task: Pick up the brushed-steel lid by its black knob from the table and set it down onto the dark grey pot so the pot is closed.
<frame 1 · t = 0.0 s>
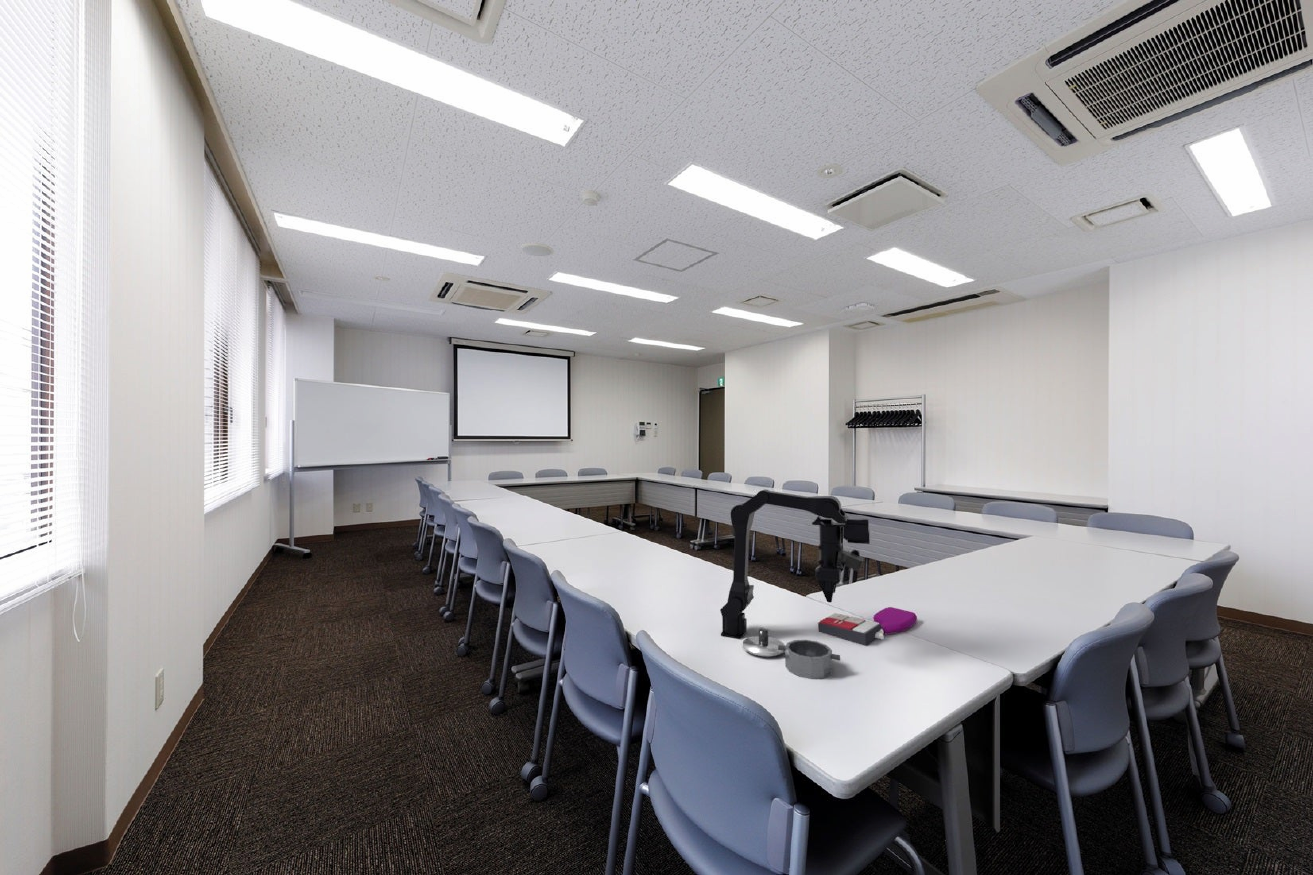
hand: (831, 597, 135), 15 cm above the table, fingers open, 9 cm apart
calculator: (849, 635, 146), on the table, touching purple squeeze pouch
lid: (763, 650, 135), on the table
pot: (808, 668, 124), on the table
purple squeeze pouch: (887, 628, 150), on the table, touching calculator
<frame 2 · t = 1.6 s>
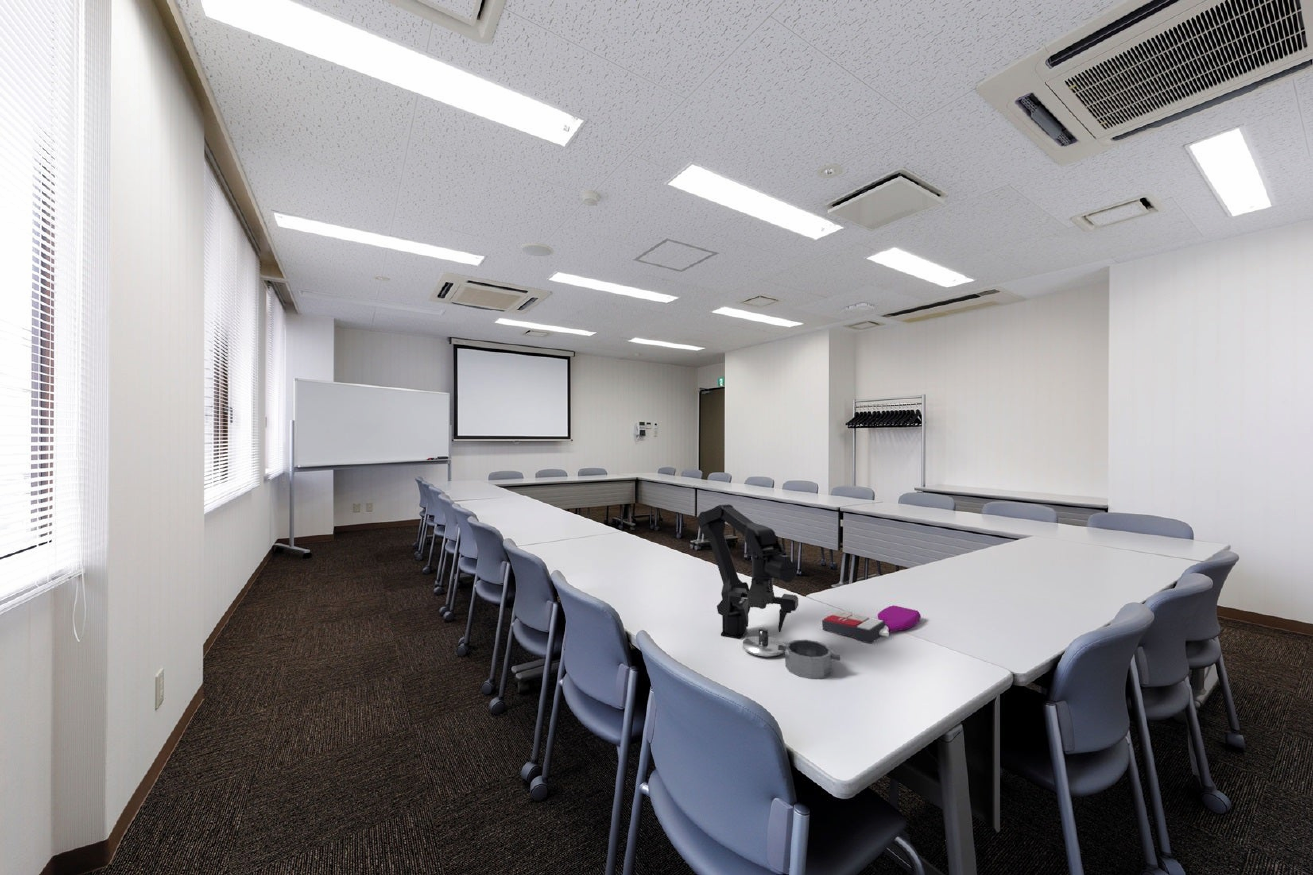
hand: (763, 629, 135), 6 cm above the table, fingers open, 9 cm apart
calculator: (853, 632, 147), on the table, touching purple squeeze pouch
purple squeeze pouch: (891, 626, 151), on the table, touching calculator
everything else where it was.
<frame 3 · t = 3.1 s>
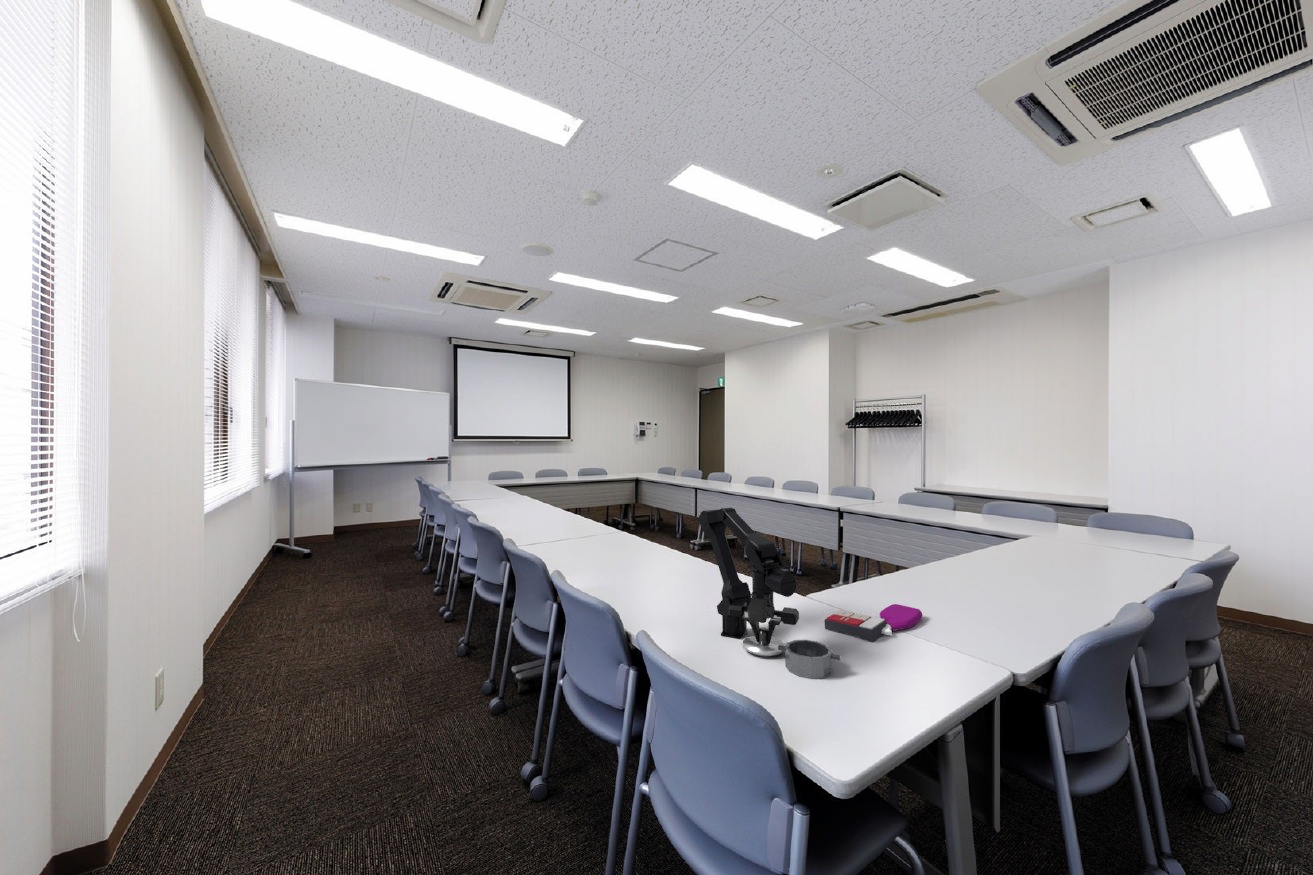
hand: (763, 642, 135), 2 cm above the table, fingers closed on lid, 3 cm apart
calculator: (855, 631, 148), on the table, touching purple squeeze pouch
lid: (763, 650, 135), on the table, touching gripper
purple squeeze pouch: (893, 625, 152), on the table, touching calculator
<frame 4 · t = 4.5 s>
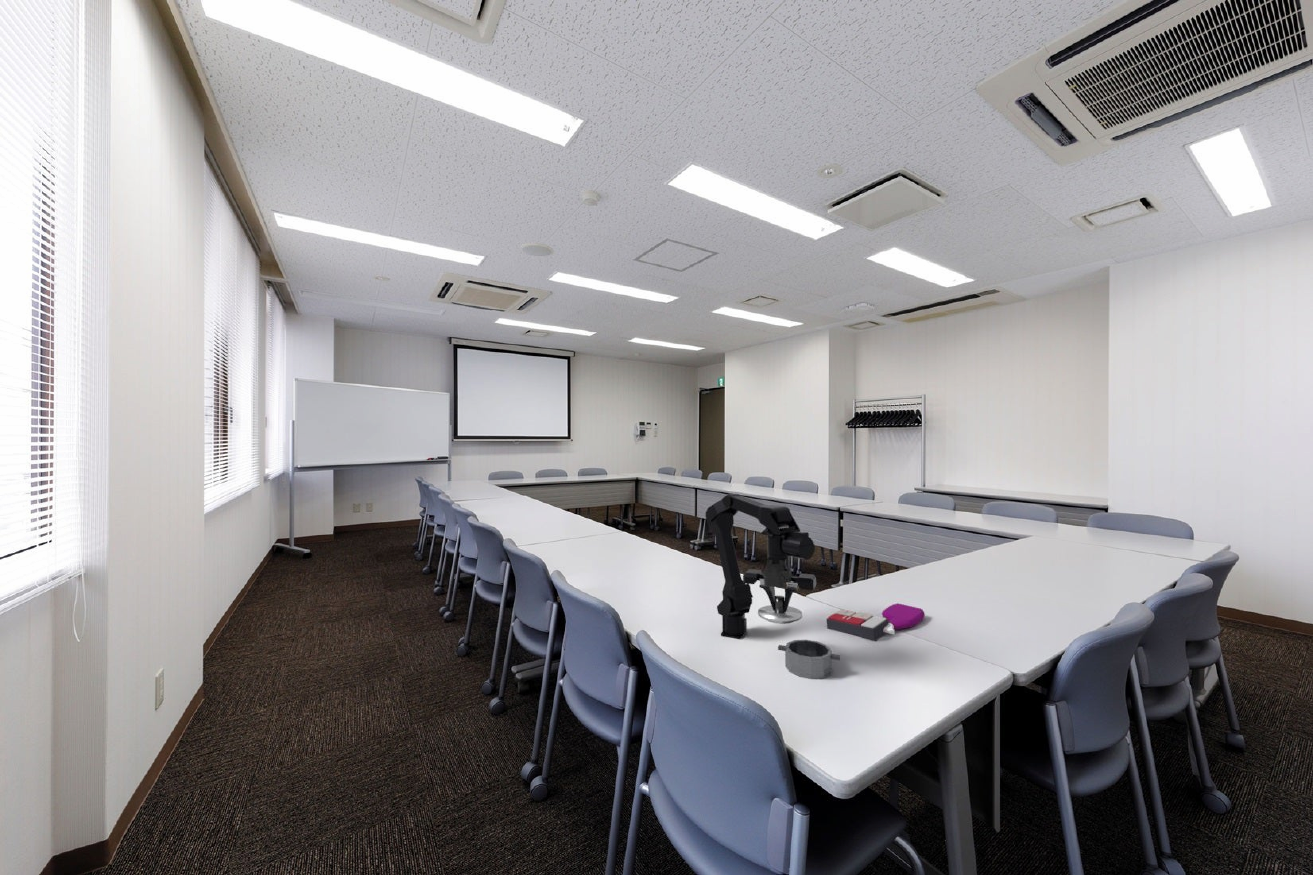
hand: (779, 611, 130), 12 cm above the table, fingers closed on lid, 3 cm apart
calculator: (857, 630, 149), on the table, touching purple squeeze pouch
lid: (780, 618, 130), point 10 cm above the table, touching gripper
purple squeeze pouch: (896, 624, 153), on the table, touching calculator
when the fingers open (7 cm above the table, at t = 6.4 s): lid drops 1 cm, resting on pot.
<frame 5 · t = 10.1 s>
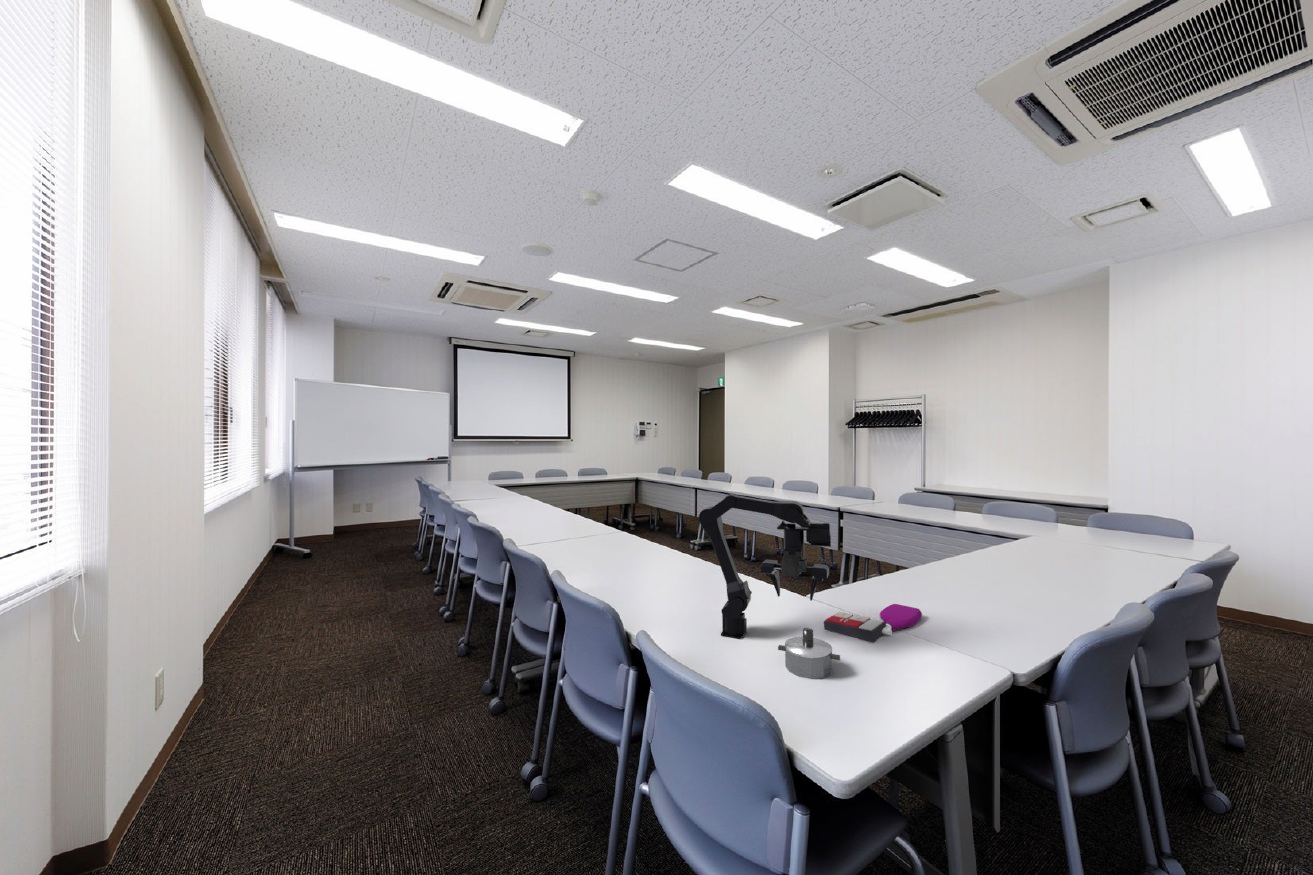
hand: (794, 598, 141), 13 cm above the table, fingers open, 9 cm apart
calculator: (854, 633, 148), on the table, touching purple squeeze pouch
lid: (808, 652, 124), point 4 cm above the table, touching pot
at the end: lid 0.0 cm off-centre on the pot, point 4.0 cm above the pot's base; lid tilted 0°; the gripper is holding nothing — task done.
